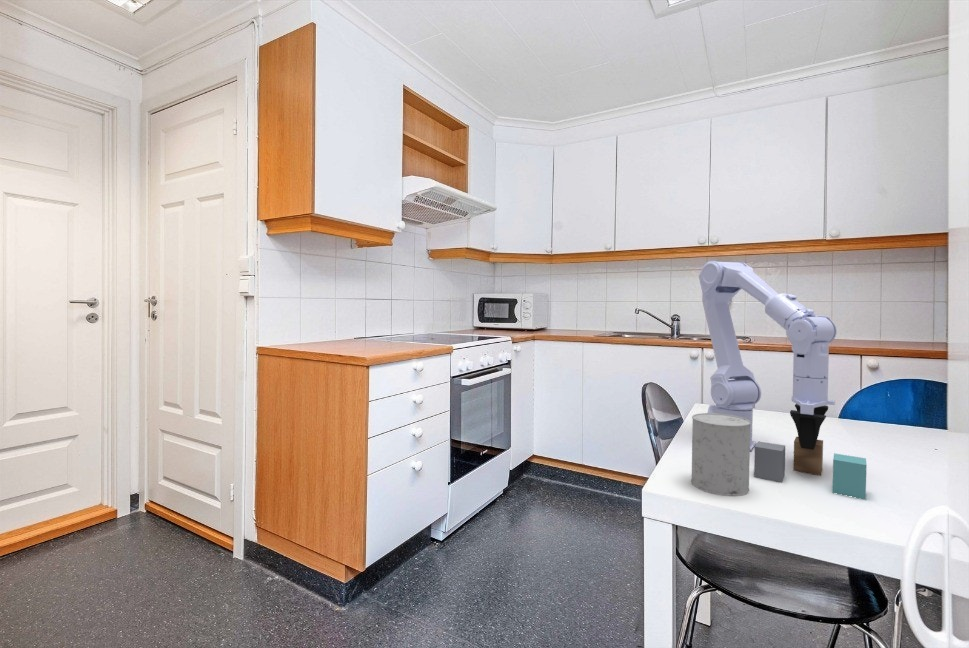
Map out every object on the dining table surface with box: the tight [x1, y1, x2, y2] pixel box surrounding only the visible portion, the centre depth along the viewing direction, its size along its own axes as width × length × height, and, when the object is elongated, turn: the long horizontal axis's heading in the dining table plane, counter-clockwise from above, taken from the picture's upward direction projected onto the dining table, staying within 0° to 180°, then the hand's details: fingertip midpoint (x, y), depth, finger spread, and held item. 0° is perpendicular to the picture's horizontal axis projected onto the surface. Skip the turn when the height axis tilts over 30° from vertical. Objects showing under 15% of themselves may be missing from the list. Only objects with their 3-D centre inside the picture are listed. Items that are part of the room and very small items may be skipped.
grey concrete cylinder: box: [690, 412, 751, 497], centre depth 84 cm, size 10×10×12 cm
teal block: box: [831, 453, 868, 500], centre depth 81 cm, size 4×4×6 cm
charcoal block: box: [753, 441, 786, 484], centre depth 88 cm, size 4×4×6 cm
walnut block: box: [792, 435, 824, 477], centre depth 92 cm, size 4×4×6 cm
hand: (809, 444), depth 92 cm, fingers open, 7 cm apart
